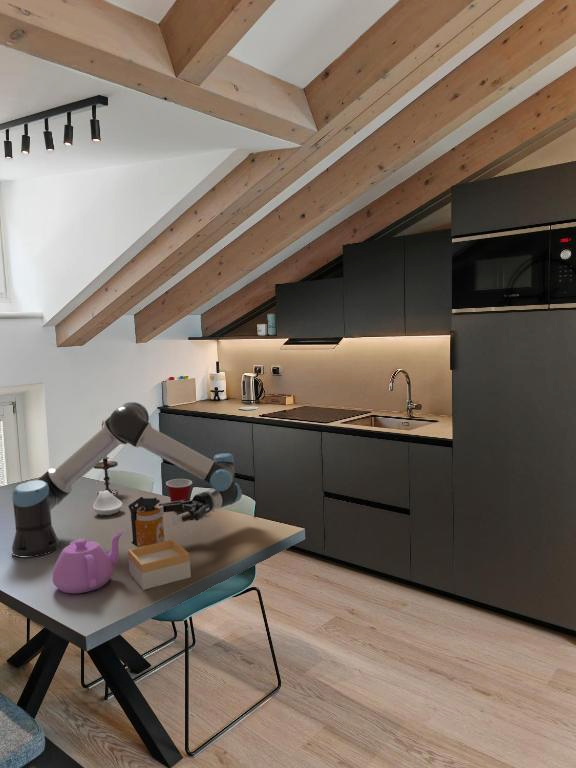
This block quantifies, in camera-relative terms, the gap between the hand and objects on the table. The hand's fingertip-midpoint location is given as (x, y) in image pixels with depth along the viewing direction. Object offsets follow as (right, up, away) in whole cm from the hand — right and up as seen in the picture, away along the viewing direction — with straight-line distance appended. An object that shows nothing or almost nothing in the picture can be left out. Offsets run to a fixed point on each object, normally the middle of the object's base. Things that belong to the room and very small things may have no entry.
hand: (160, 517), depth 203 cm
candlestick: (-41, -7, +78) cm, 89 cm away
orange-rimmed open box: (+4, -13, -19) cm, 23 cm away
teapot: (-16, -15, -21) cm, 31 cm away
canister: (-3, -12, -2) cm, 13 cm away
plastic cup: (-2, -7, +48) cm, 49 cm away
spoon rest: (-34, -9, +53) cm, 64 cm away
